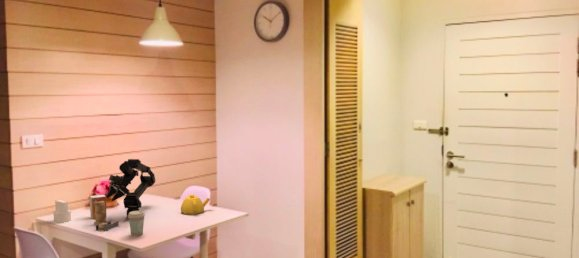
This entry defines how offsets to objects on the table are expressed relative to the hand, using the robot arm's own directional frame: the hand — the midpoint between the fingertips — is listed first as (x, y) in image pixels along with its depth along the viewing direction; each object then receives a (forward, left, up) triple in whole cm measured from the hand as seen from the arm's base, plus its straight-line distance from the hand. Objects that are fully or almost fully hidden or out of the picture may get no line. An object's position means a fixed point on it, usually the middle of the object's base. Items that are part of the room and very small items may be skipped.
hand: (109, 199), depth 270 cm
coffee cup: (-11, +31, -14) cm, 35 cm away
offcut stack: (+4, +13, -14) cm, 20 cm away
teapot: (-50, -1, -14) cm, 52 cm away
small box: (+6, -14, -14) cm, 21 cm away
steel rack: (+2, +11, -14) cm, 18 cm away
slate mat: (+5, 0, -14) cm, 15 cm away
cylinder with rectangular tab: (+25, -15, -14) cm, 32 cm away
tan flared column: (+5, 0, -13) cm, 14 cm away
